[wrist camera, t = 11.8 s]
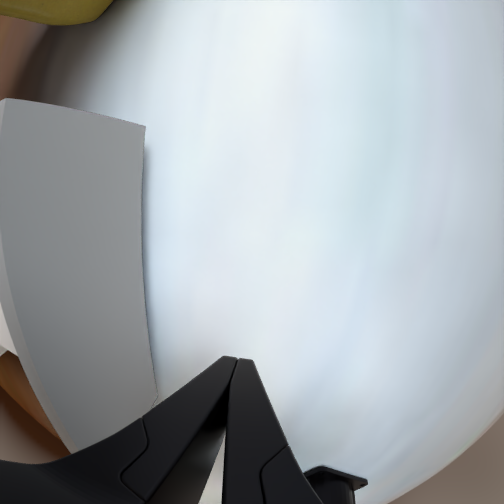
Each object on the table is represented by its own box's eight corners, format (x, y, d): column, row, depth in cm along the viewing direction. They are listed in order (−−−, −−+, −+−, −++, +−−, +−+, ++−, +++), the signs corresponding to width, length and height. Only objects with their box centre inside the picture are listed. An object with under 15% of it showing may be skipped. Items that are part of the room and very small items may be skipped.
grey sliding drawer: (25, 343, 15) (-30, 389, 8) (-1, 152, 11) (-84, 163, 4) (157, 395, 14) (107, 488, 7) (145, 126, 10) (6, 97, 3)
